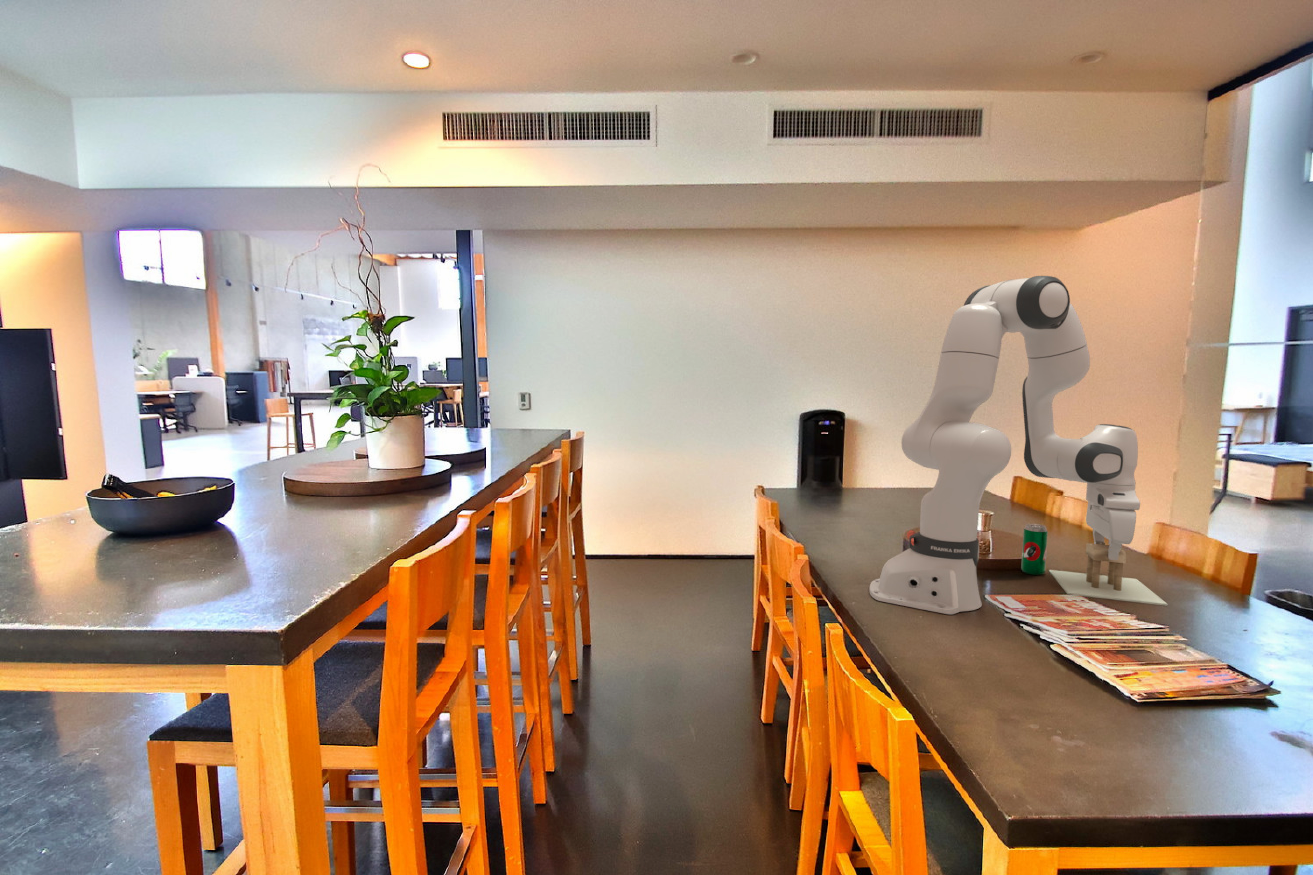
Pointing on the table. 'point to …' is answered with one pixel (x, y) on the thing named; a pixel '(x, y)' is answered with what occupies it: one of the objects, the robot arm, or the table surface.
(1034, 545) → the soda can
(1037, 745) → the table surface
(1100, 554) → the stool
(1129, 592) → the mat
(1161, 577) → the table surface
